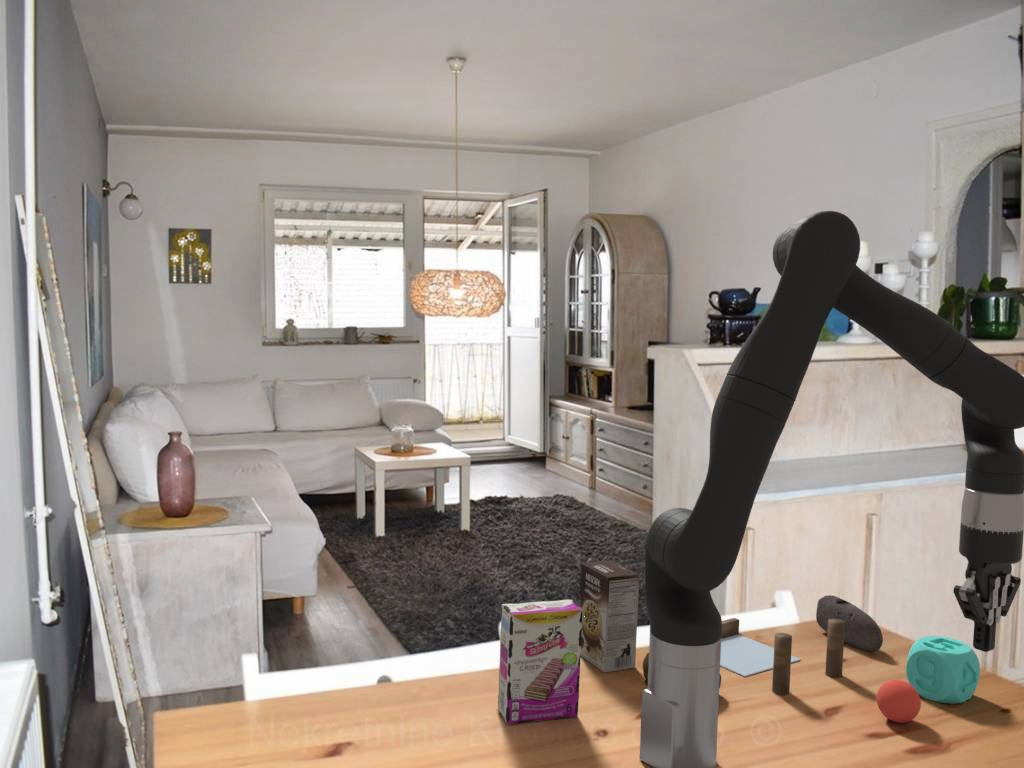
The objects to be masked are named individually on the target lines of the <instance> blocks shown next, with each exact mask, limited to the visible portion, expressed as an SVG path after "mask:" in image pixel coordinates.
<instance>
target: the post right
mask: <svg viewBox="0 0 1024 768" xmlns="http://www.w3.org/2000/svg"><path fill="white" fill-rule="evenodd" d="M844 631H845V622H844V621H843V620H839V619H829V620H828V633H826V635H827V637H826V653H825V671H824V673H825V675H826V676H827V677H829V678H835V679H838V678H842V677H843V667H844V665H843V664H844V648H845V647H844V646H845V642H844Z"/></svg>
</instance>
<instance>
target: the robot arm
mask: <svg viewBox="0 0 1024 768" xmlns="http://www.w3.org/2000/svg"><path fill="white" fill-rule="evenodd" d="M772 247H773V248H772V261H773V265H774V268H775V270H776V271H777V273H778V274H779V276H780V278H779V282H778V285H777V287H776V290H775V292H774V295H773V296H772V297H773V298H772V299H771V301H770V303H769V305H768V307H767V309H766V311H765V312H764V314H763V315H762V317H761V319H760V320H759V322H758V323H757V324H756V326H755V327H754V328H753V330H752V332H751V333H750V334H749V336H748V337H747V338H746V340H745V342H744V343H743V345H742V347H741V348H740V349H739V350H738V353H737V354H736V356H735V357H734V359H733V360H732V363H731V365H730V367H729V369H728V371H727V373H726V376H725V378H724V380H723V383H722V385H721V388H720V389H719V392H718V395H717V397H716V400H715V402H714V405H713V409H712V413H711V419H710V430H709V431H710V432H709V458H708V468H707V472H706V477H705V481H704V482H703V486H702V488H701V490H700V492H699V494H698V497H697V500H696V502H695V504H694V506H693V508H692V510H691V509H688V508H685V507H674V508H673V507H672V508H670V509H667V510H665V511H663V512H662V513H660V514H659V515H658V516H657V517H656V518H655V520H654V521H653V523H652V524H651V525H650V528H649V530H648V533H647V536H646V541H645V551H644V597H645V598H644V599H645V606H646V610H647V614H648V617H649V643H648V645H649V649H648V653H649V668H648V686H647V688H645V689H643V690H642V691H641V709H640V710H641V711H640V712H641V713H640V732H639V733H640V735H639V736H640V738H639V739H640V740H639V759H640V760H641V761H643V763H645V764H647V765H649V766H650V767H652V768H716V766H717V755H718V754H717V752H718V751H717V748H718V723H719V722H718V720H719V705H720V704H719V703H720V702H719V701H720V700H719V699H720V698H719V697H720V689H719V679H720V675H721V672H720V671H721V666H720V656H721V639H722V637H721V635H722V621H723V619H722V616H721V614H720V612H719V610H718V608H717V606H716V605H715V602H714V600H713V598H712V594H711V591H713V590H715V589H716V588H719V586H720V585H721V584H722V583H724V582H725V580H726V579H727V578H728V577H729V575H730V574H731V572H732V570H733V568H734V566H735V564H736V561H737V559H738V555H739V553H740V550H741V547H742V543H743V540H744V537H745V533H746V530H747V526H748V522H749V520H750V516H751V512H752V508H753V506H754V504H755V500H756V496H757V494H758V491H759V488H760V486H761V483H762V481H763V479H764V477H765V474H766V471H767V469H768V466H769V464H770V461H771V459H772V456H773V454H774V451H775V449H776V446H777V443H778V441H779V439H780V437H781V435H782V433H783V431H784V429H785V426H786V424H787V422H788V419H789V417H790V414H791V412H792V410H793V407H794V404H795V402H796V401H797V400H796V399H797V398H798V394H799V392H800V388H801V386H802V383H803V382H804V381H803V380H804V378H805V377H806V374H807V371H808V369H809V366H810V364H811V360H812V358H813V356H814V352H815V350H816V348H817V344H818V341H819V338H820V336H821V333H822V330H823V328H824V325H826V324H825V323H826V321H827V320H828V318H829V315H830V313H831V311H832V310H833V309H834V310H836V311H837V312H839V313H840V314H842V315H843V316H845V317H846V318H849V319H850V320H851V321H853V322H854V323H856V324H858V325H859V326H860V327H861V328H863V329H865V330H866V331H867V332H869V333H870V334H871V335H873V336H874V337H875V338H877V339H878V340H880V341H881V342H882V343H883V344H885V345H886V346H887V347H888V348H890V349H891V350H893V351H894V352H895V353H896V354H897V355H899V357H901V358H902V359H904V360H905V361H906V362H907V363H908V364H910V365H911V366H912V367H913V368H915V369H916V370H917V371H918V372H920V373H921V374H922V375H923V376H924V377H926V378H928V379H929V380H930V381H931V382H933V383H934V384H936V385H938V386H940V387H941V388H945V389H947V390H949V391H951V392H953V393H955V394H956V395H957V396H958V397H960V398H961V403H960V404H961V405H960V406H961V409H960V410H961V411H960V412H961V421H962V422H961V423H962V428H963V429H962V430H963V436H964V437H963V439H964V442H965V448H966V454H967V455H966V457H967V459H966V466H965V477H964V478H965V480H964V482H965V483H964V492H963V496H962V500H961V508H960V509H961V511H960V514H961V515H960V524H959V525H960V527H959V528H960V530H959V542H958V543H959V545H958V552H959V554H960V555H961V556H962V557H964V558H966V560H967V566H966V568H965V569H966V570H965V573H964V577H965V581H964V583H963V585H961V586H960V585H957V584H956V585H954V587H953V594H954V597H955V598H956V601H957V604H958V605H959V607H960V610H961V613H962V615H963V617H964V618H965V619H967V620H970V621H973V636H972V637H973V638H972V646H973V648H974V649H975V650H978V651H981V652H984V653H988V652H990V651H993V650H995V649H996V636H997V635H996V634H997V632H996V631H997V624H999V623H1000V621H1001V617H1004V618H1005V617H1006V616H1008V613H1009V610H1010V609H1011V606H1012V603H1013V602H1014V599H1015V597H1016V595H1017V592H1018V590H1019V587H1020V585H1021V582H1022V580H1021V577H1018V576H1015V575H1013V573H1012V570H1013V567H1012V565H1013V564H1017V563H1019V562H1021V561H1022V558H1023V544H1024V451H1023V450H1022V449H1021V448H1020V447H1019V446H1018V445H1017V443H1016V439H1015V430H1019V429H1023V428H1024V376H1023V375H1022V374H1021V373H1019V371H1017V370H1015V369H1013V368H1012V367H1010V366H1009V365H1008V364H1006V363H1004V362H1003V361H1001V360H999V359H997V358H996V357H995V356H992V354H991V355H990V354H989V353H987V352H985V350H982V349H981V348H979V347H978V346H976V344H974V343H973V342H972V341H971V340H970V339H969V338H968V337H966V335H964V334H963V333H961V332H960V330H958V329H956V328H955V327H954V326H952V325H951V324H950V323H949V322H948V321H946V320H945V319H944V318H943V317H941V316H940V315H938V314H937V313H935V312H934V311H932V310H930V309H928V308H927V307H925V306H924V305H922V304H920V303H918V302H916V301H915V300H912V299H910V298H909V297H906V296H905V295H902V294H900V293H898V292H896V291H894V290H893V289H890V288H889V287H887V286H885V285H884V284H882V283H880V282H878V281H877V280H875V279H874V278H873V277H871V275H869V274H867V273H866V272H865V271H863V270H862V269H861V268H860V267H859V266H858V265H857V264H858V261H859V256H860V254H861V253H860V252H861V238H860V233H859V231H858V228H857V226H856V225H855V223H854V222H853V221H852V220H851V219H850V217H849V216H847V215H845V214H843V213H842V212H840V211H834V210H825V211H824V210H823V211H818V212H815V213H811V214H808V215H806V216H804V217H803V218H801V219H799V220H798V221H795V222H794V223H791V224H790V225H789V226H787V227H786V228H785V229H784V230H782V231H781V233H779V234H778V236H777V238H776V239H775V242H774V244H773V246H772Z"/></svg>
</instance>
